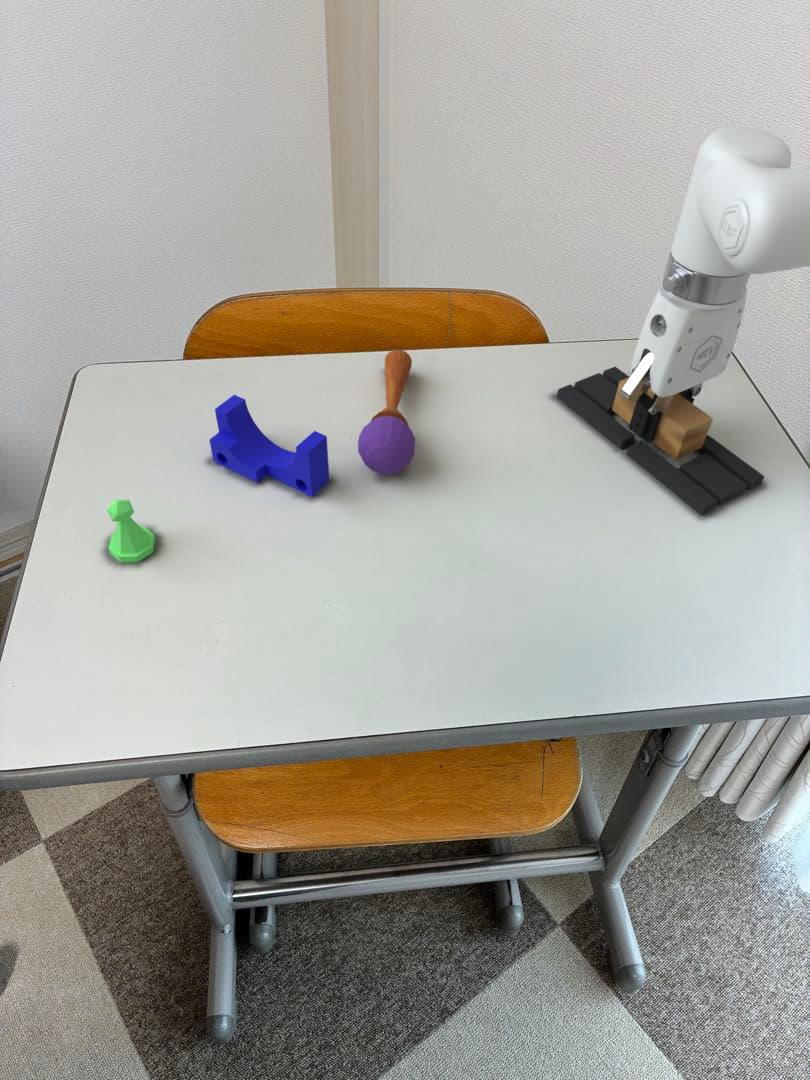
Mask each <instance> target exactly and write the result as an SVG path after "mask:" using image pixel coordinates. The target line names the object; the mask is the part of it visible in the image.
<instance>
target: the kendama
mask: <svg viewBox="0 0 810 1080" xmlns="http://www.w3.org/2000/svg"><path fill="white" fill-rule="evenodd" d="M412 364H413V360H412V357H411V356H410V354H409V353H407V352H406V351H404V350H402V349H393V350H391V351H389V352H388V353H386V355H385V357H384V377H385V378H384V379H385V380H384V382H385V401H386V402H385V403H386V407H385V408H383V409H382V410H381V411H379V412H377V413H376V414H375V415H374V416H372V417H371V420H370V422H368V423H367V424H365V426H363V427H362V429H361V432H360V434H359V436H358V441H357V448H358V449H357V453H358V454H359V456H360V458H361V460H362V462H363V464H364V466H366V468H368V469H369V470H370V471H371V472H374V473H376V474H380V475H393V474H397V473H399V472H401V471H402V470H404V469H405V468H406V467H407V466H408V465H409V464H411V461H412V460H413V458H414V457H415V452H416V451H415V450H416V438H415V435H414V432H413V431H412V429H411V428H410V426H409V422H408V420H407V419H406V417H405V416H404V415H403V414H402V413H401V411H399V409H398V408H399V404H400V401H401V399H402V395H403V392H404V390H405V386H406V383H407V380H408V377H409V374H410V372H411V370H412Z"/></svg>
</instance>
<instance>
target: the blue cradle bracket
mask: <svg viewBox="0 0 810 1080" xmlns="http://www.w3.org/2000/svg"><path fill="white" fill-rule="evenodd" d="M214 413H215V418H216V422H217V423H216V424H217V429H218V432H217V433H216V434H215V435H213V436H212V437H211V438H210V439H209V440H208V441H209V445H210V450H211V455H212V460H213V462H214V463H216V464H218V465H220V466H222V467H224V468H225V469H228V470H230V471H232V472H234V473H236V474H238V475H240V476H242V477H243V478H246V479H248V480H250V481H252V482H254V483H256V484H258V483H259V482H260V481H261V480H263V479H264V478H265V477H266V476H267V477H270V478H272V479H274V480H276V481H279V482H280V483H281V484H284V485H285V486H286V485H287V486H288V487H290V488H292V489H294V490H296V491H299V492H301V493H303V494H304V495H306V496H309V497H310V498H313V497H314V496H315V495H316V494H317V493H318V492H319V491H321V490H322V488H323V487H324V486H326V485H327V484H328V483H329V482H330V469H329V451H328V450H329V449H328V436H327V435H325V434H323V433H321V432H318V431H316V430H314V431H312V432H311V433H310V434H308V436H307V437H305V438H304V440H302V441H301V442H299V444H297V445H296V446H295V451H291V450H288V449H285V448H283V447H281V446H280V445H278V444H276V443H275V442H273V441H272V440H271V439H269V437H267V436H266V434H264V432H263V431H262V430H261V429H260V428H259V427H258V425H257V424H256V422H255V421H254V419H253V417H252V415H251V413H250V411H249V408H248V405H247V401H246V399H245V398H243V397H241V396H238V395H236V394H233V395H231V396H230V397H228V398H227V399H226V400H225V401H224V402H222V403H221V404H219V405H218V406H217V407H215V408H214Z"/></svg>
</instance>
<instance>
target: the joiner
mask: <svg viewBox="0 0 810 1080" xmlns="http://www.w3.org/2000/svg"><path fill="white" fill-rule="evenodd" d="M629 378H630V376H629ZM629 378H626V379H624V380H621V381H620V382H619V385H618V389H617V393H616V397H615V400H614V404H613V408H612V410H613V411H614V412H615V413H614V414H616V415H618V416H619V417H620V418H621V419H623V420H624V422H626V423H627V424H629V425H630V422H631V418H632V415H633V412H634V408H635V405H636V402H633V401H631V400H629V399H627V398H626V397H625V396H623V395H622V394H621V390H622V388H623V387H624V385H625V384H626V382H627V381H628V379H629ZM647 395H649V396H650V397H651V398H652V399H653V397H654V395H655V393H654V392H652V390H651V388H650V387H649V389H648V392H647ZM659 411H660V412H661V413H662V415H661V418H660V421H659V424H658V427H657V430H656V433H655V436H654V439H653V441H651V443H653V444H654V445H656V446H657V447H659V448H660V450H662V451H663V452H665V453H666V454H667V455H669V457H671V458H673V460H675V461H677V460H679V459H682V458H684V457H685V456H687V455H689V454H692V453H694V452H697V451H696V450H698V449H700V448H702V446H703V444H704V441H705V439H706V436H707V434H708V433H709V430H710V428H711V425H712V423H713V420H714V417H711V415H709V414H708V413H706V411H703V410H702V409H700V408H699V407H698V406H696V405H695V404H694V403H693V404H692V403H691V402H689V401H688V400H687V399H685V398H684V397H682V396H681V395H680V394H678V393H677V394H674V395H672V396H668V397H665V398H664V400H663V403H662V405H661V407H660V409H659Z"/></svg>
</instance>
